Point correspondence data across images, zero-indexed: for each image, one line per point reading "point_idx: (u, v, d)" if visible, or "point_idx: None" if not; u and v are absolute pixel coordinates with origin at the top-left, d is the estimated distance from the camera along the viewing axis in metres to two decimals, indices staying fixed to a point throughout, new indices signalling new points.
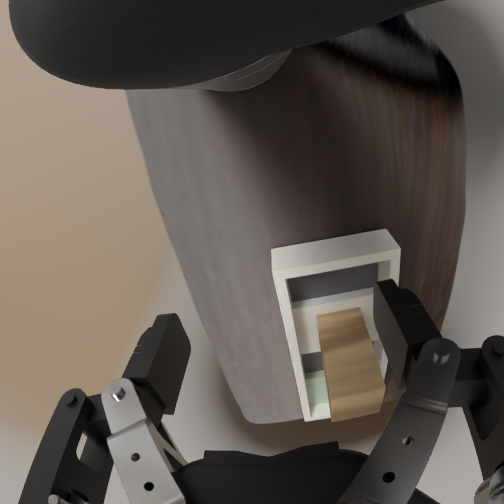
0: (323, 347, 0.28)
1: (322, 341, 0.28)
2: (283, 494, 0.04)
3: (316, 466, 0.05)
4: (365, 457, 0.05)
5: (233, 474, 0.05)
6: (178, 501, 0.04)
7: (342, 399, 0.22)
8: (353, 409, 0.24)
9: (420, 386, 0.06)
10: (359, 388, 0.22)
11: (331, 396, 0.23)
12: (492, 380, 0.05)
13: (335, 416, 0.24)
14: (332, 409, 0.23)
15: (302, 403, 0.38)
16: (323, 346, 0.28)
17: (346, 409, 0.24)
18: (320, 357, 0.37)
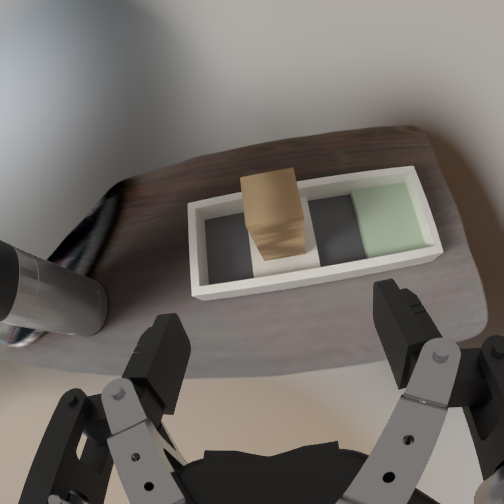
0: (257, 247, 0.31)
1: (258, 249, 0.32)
2: (283, 494, 0.04)
3: (316, 466, 0.05)
4: (365, 457, 0.05)
5: (233, 474, 0.05)
6: (178, 501, 0.04)
7: (250, 214, 0.25)
8: (276, 197, 0.25)
9: (420, 386, 0.06)
10: None
11: (246, 226, 0.25)
12: (492, 380, 0.05)
13: (289, 214, 0.25)
14: (270, 220, 0.25)
15: (396, 260, 0.30)
16: (257, 247, 0.31)
17: (274, 205, 0.25)
18: (339, 251, 0.35)
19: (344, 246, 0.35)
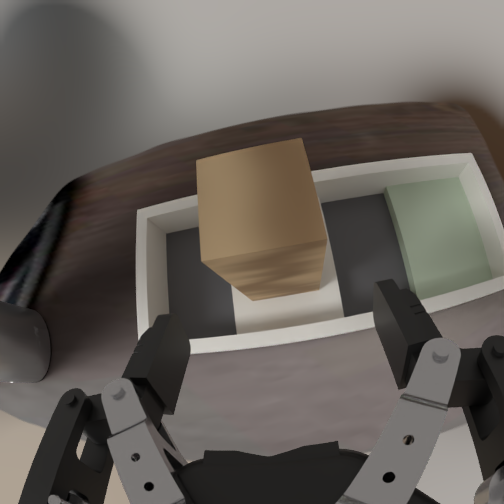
0: None
1: None
2: (283, 494, 0.04)
3: (316, 466, 0.05)
4: (365, 457, 0.05)
5: (233, 474, 0.05)
6: (178, 501, 0.04)
7: (211, 235, 0.12)
8: (267, 198, 0.12)
9: (420, 386, 0.06)
10: None
11: None
12: (492, 380, 0.05)
13: (295, 234, 0.11)
14: (253, 249, 0.11)
15: (461, 300, 0.16)
16: None
17: (264, 216, 0.12)
18: (371, 282, 0.22)
19: (377, 274, 0.22)
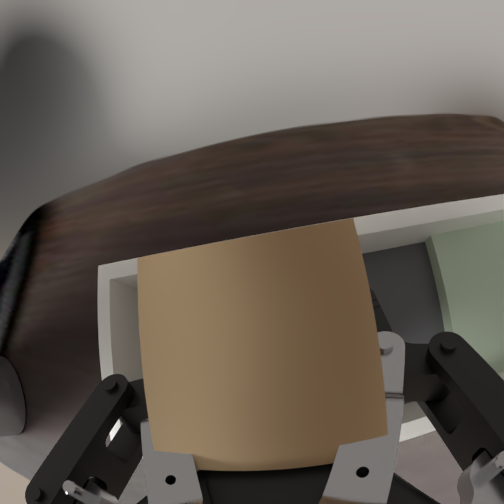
0: None
1: None
2: (283, 494, 0.04)
3: (316, 466, 0.05)
4: None
5: (233, 474, 0.05)
6: (195, 501, 0.04)
7: (170, 428, 0.05)
8: (278, 371, 0.05)
9: None
10: None
11: None
12: (437, 376, 0.06)
13: (330, 446, 0.05)
14: (247, 465, 0.05)
15: None
16: None
17: (270, 408, 0.05)
18: None
19: None
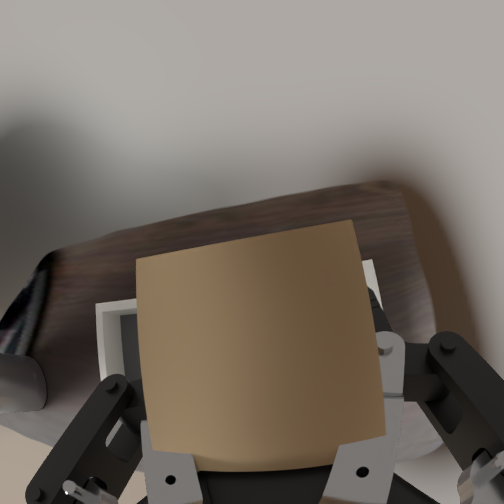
0: None
1: None
2: (283, 494, 0.04)
3: None
4: None
5: (233, 474, 0.05)
6: (195, 501, 0.04)
7: (169, 428, 0.05)
8: (276, 373, 0.05)
9: None
10: None
11: None
12: (437, 376, 0.06)
13: (328, 447, 0.05)
14: (245, 466, 0.05)
15: None
16: None
17: (268, 409, 0.05)
18: None
19: None
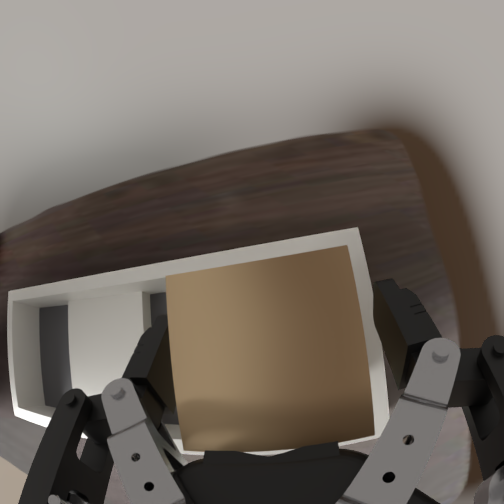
0: None
1: None
2: (283, 494, 0.04)
3: (316, 466, 0.05)
4: (365, 457, 0.05)
5: (233, 474, 0.05)
6: (178, 501, 0.04)
7: (195, 417, 0.07)
8: (286, 369, 0.07)
9: (420, 386, 0.06)
10: None
11: None
12: (492, 380, 0.05)
13: (327, 430, 0.06)
14: (260, 447, 0.06)
15: (273, 451, 0.13)
16: None
17: (279, 398, 0.06)
18: None
19: None
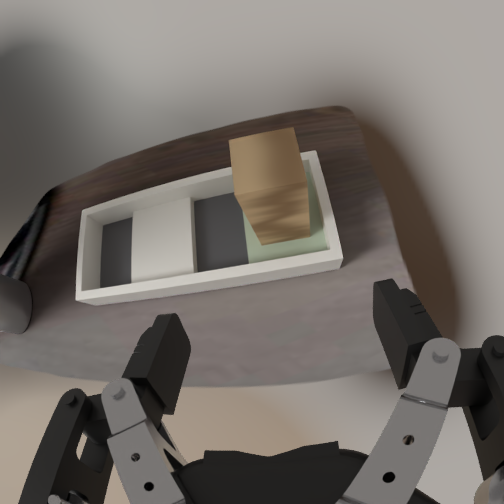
0: (252, 227, 0.26)
1: (254, 230, 0.26)
2: (283, 494, 0.04)
3: (316, 466, 0.05)
4: (365, 457, 0.05)
5: (233, 474, 0.05)
6: (178, 501, 0.04)
7: (240, 181, 0.20)
8: (272, 161, 0.20)
9: (420, 386, 0.06)
10: None
11: (235, 195, 0.20)
12: (492, 380, 0.05)
13: (288, 179, 0.19)
14: (264, 187, 0.20)
15: (273, 268, 0.27)
16: None
17: (271, 170, 0.20)
18: (221, 256, 0.32)
19: (226, 250, 0.32)
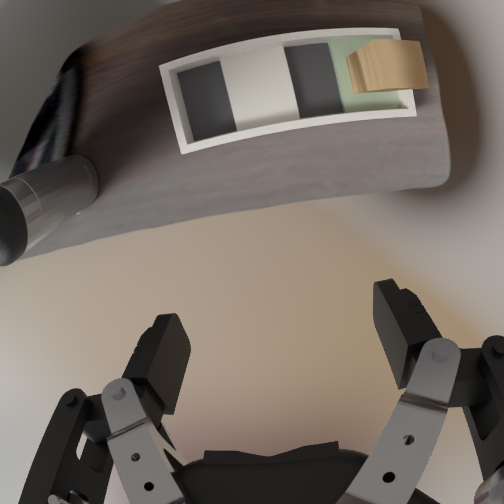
0: (365, 90, 0.27)
1: (363, 90, 0.28)
2: (283, 494, 0.04)
3: (316, 466, 0.05)
4: (365, 457, 0.05)
5: (233, 474, 0.05)
6: (178, 501, 0.04)
7: (388, 77, 0.21)
8: (408, 66, 0.20)
9: (420, 386, 0.06)
10: (378, 62, 0.21)
11: (384, 87, 0.22)
12: (492, 380, 0.05)
13: (419, 83, 0.21)
14: (405, 86, 0.21)
15: (372, 117, 0.30)
16: (364, 90, 0.27)
17: (408, 73, 0.21)
18: (316, 97, 0.33)
19: (320, 92, 0.33)
